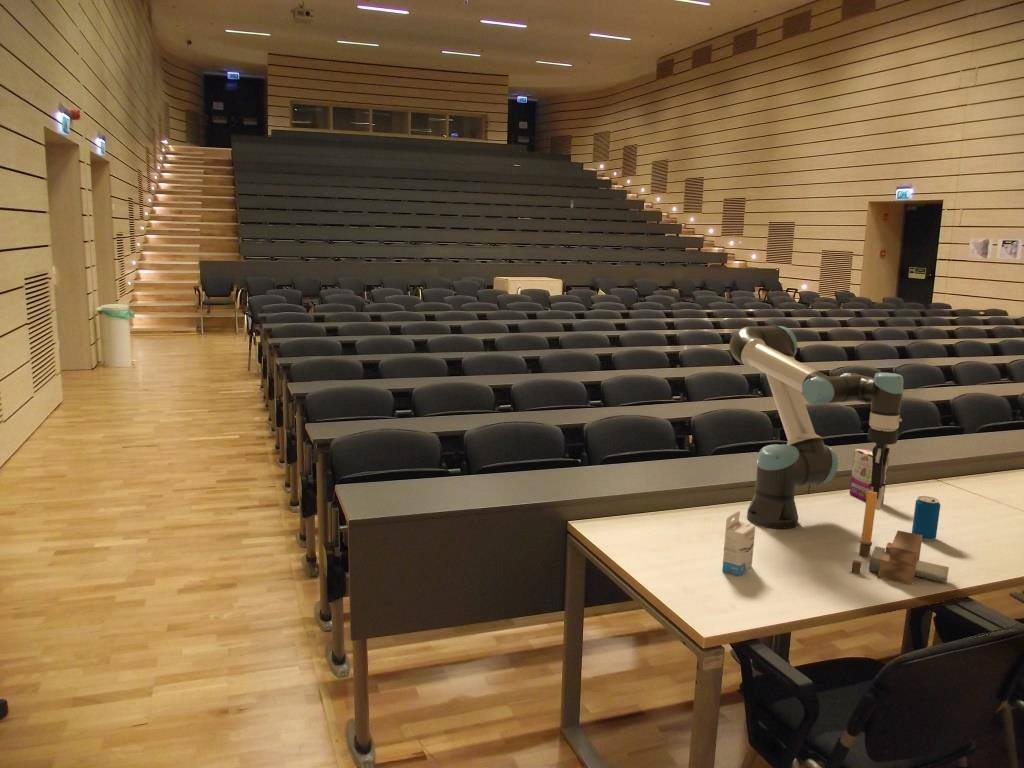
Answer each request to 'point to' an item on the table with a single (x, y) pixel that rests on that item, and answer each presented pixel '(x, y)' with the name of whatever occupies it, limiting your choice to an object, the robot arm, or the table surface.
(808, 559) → the table surface
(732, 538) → the ink box
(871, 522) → the bar
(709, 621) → the table surface
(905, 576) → the hitch block
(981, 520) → the table surface
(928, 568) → the pin
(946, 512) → the table surface
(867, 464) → the candy bar box
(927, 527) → the beverage can
